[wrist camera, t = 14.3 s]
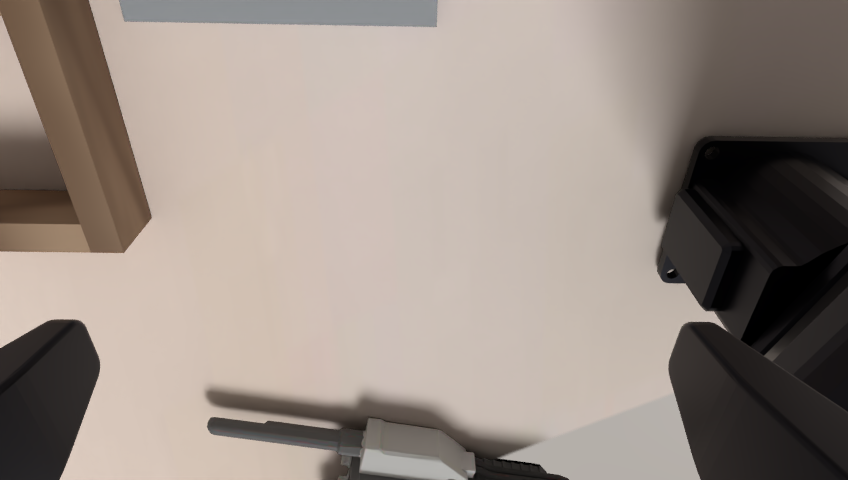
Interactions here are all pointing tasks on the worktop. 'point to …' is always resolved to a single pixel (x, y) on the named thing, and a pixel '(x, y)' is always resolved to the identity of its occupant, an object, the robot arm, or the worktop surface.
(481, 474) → the walkie-talkie
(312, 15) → the mat
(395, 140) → the worktop surface
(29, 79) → the square wooden frame
